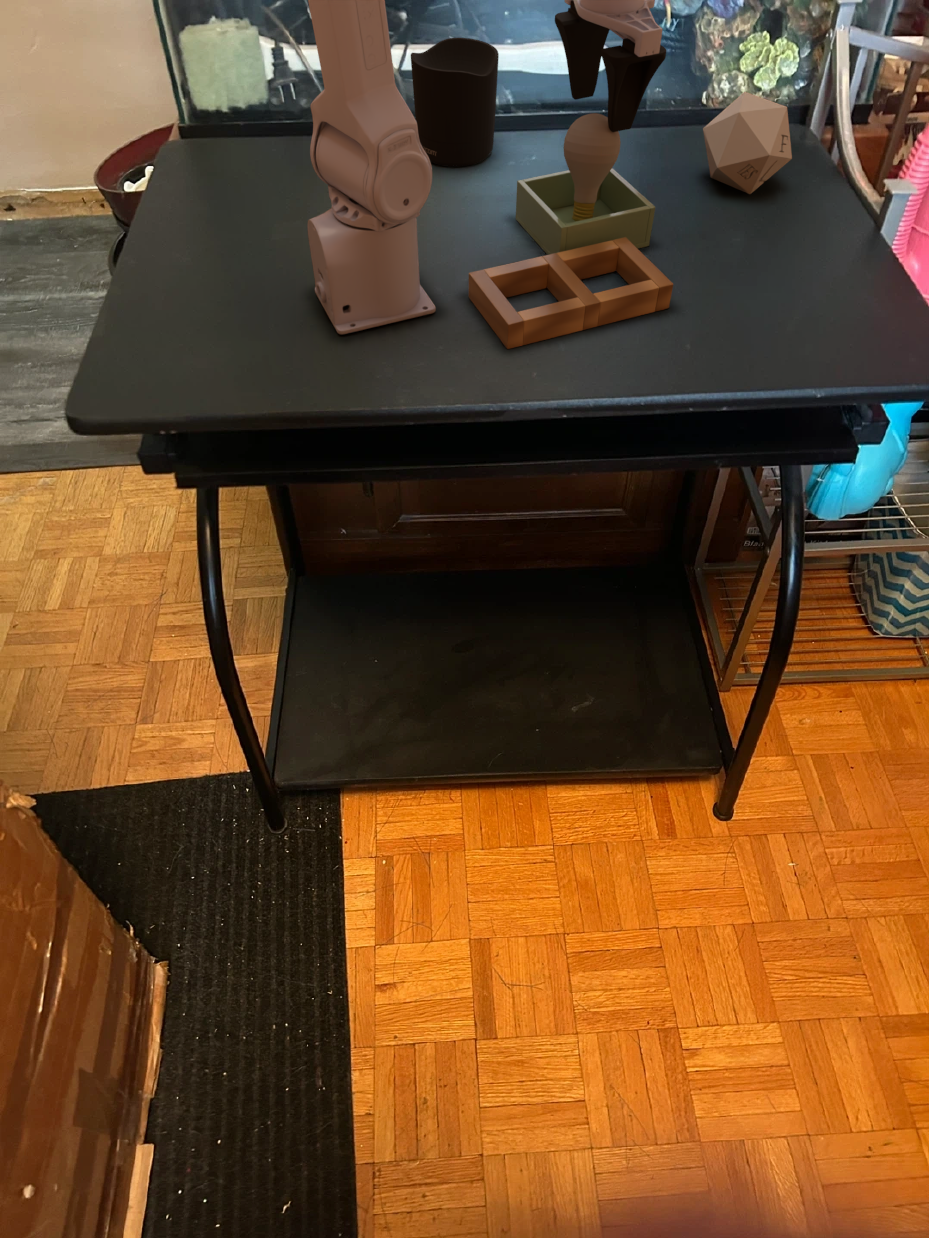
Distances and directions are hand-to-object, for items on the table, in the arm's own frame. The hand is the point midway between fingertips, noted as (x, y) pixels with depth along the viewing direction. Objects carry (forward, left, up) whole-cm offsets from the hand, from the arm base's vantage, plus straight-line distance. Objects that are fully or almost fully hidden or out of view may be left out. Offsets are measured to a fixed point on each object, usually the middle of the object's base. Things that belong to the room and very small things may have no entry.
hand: (600, 112), depth 85 cm
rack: (-10, -15, -10) cm, 20 cm away
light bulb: (-3, -4, -9) cm, 10 cm away
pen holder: (-8, +18, -10) cm, 22 cm away
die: (+18, -1, -10) cm, 21 cm away
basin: (-3, -4, -10) cm, 11 cm away
